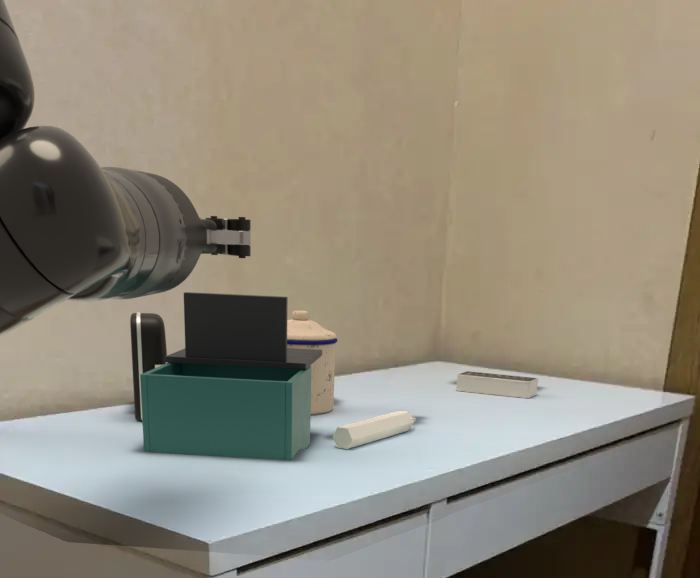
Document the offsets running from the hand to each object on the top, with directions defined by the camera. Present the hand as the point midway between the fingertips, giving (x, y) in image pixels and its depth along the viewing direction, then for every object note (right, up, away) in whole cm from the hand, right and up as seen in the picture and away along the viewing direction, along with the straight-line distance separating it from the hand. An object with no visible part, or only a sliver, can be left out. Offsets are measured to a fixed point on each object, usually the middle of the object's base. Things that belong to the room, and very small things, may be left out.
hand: (196, 233), depth 75 cm
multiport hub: (+33, +2, +61) cm, 69 cm away
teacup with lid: (+6, -5, +41) cm, 42 cm away
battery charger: (-11, -7, +34) cm, 36 cm away
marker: (+16, -11, +28) cm, 34 cm away
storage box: (0, -14, +18) cm, 23 cm away
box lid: (+2, -4, +22) cm, 23 cm away
